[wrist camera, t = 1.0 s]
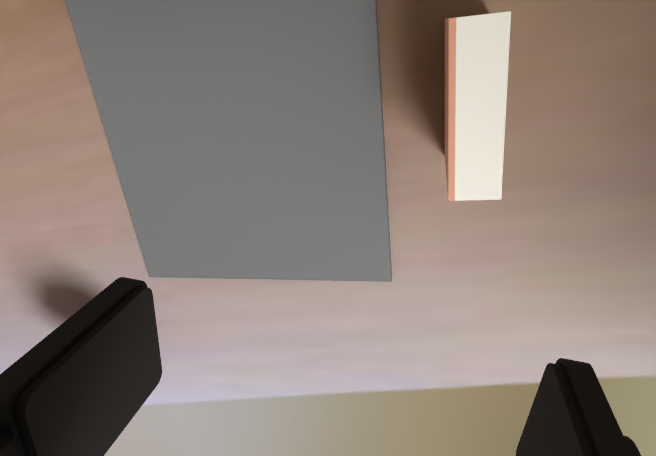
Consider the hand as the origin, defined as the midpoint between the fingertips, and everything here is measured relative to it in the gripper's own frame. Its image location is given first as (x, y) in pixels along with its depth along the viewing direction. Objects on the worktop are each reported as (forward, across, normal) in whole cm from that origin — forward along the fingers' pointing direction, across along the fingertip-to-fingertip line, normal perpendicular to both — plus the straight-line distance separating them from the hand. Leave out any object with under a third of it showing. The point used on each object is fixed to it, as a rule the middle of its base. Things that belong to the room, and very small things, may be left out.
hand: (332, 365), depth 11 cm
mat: (+21, +11, -1) cm, 24 cm away
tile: (+21, -4, -4) cm, 22 cm away
